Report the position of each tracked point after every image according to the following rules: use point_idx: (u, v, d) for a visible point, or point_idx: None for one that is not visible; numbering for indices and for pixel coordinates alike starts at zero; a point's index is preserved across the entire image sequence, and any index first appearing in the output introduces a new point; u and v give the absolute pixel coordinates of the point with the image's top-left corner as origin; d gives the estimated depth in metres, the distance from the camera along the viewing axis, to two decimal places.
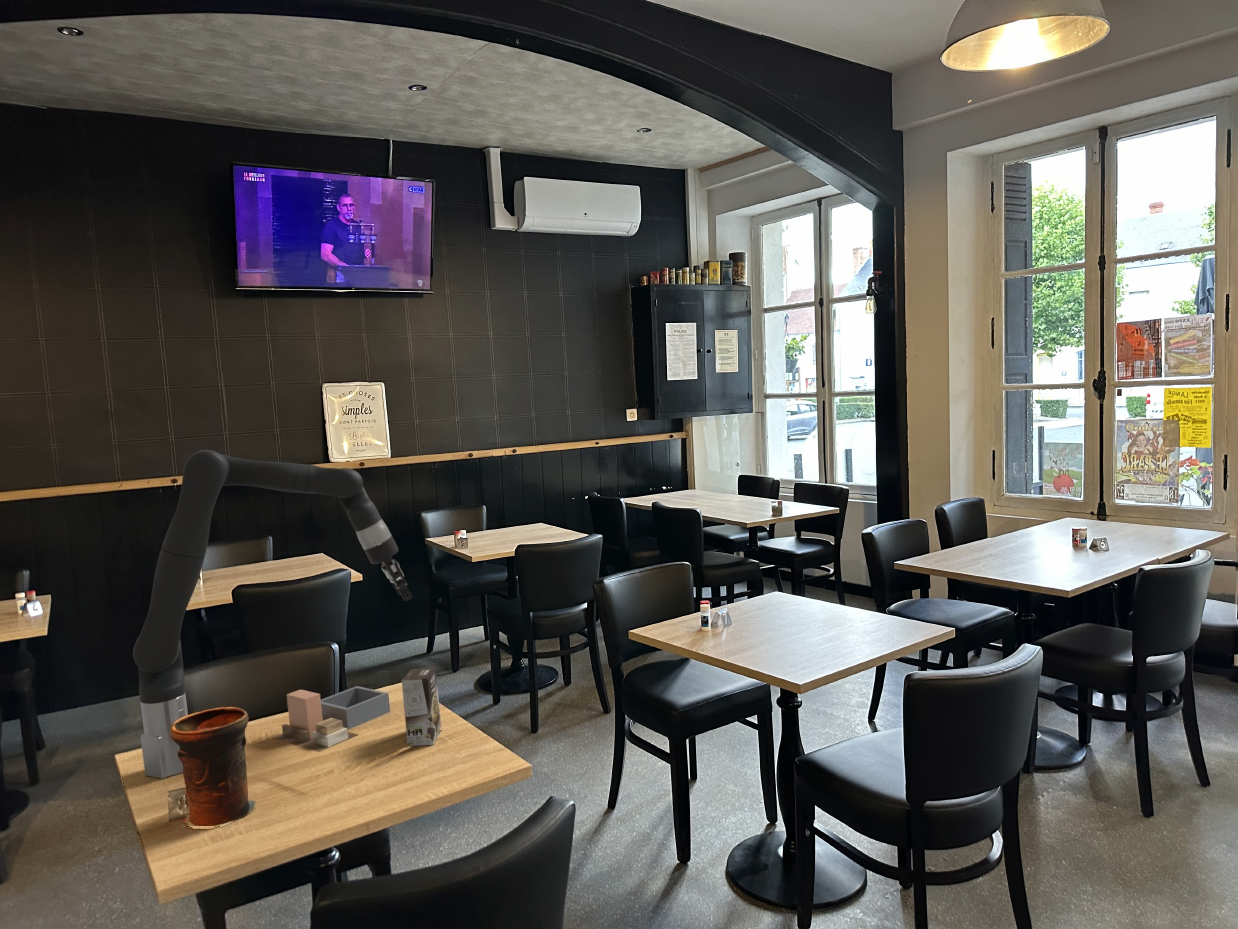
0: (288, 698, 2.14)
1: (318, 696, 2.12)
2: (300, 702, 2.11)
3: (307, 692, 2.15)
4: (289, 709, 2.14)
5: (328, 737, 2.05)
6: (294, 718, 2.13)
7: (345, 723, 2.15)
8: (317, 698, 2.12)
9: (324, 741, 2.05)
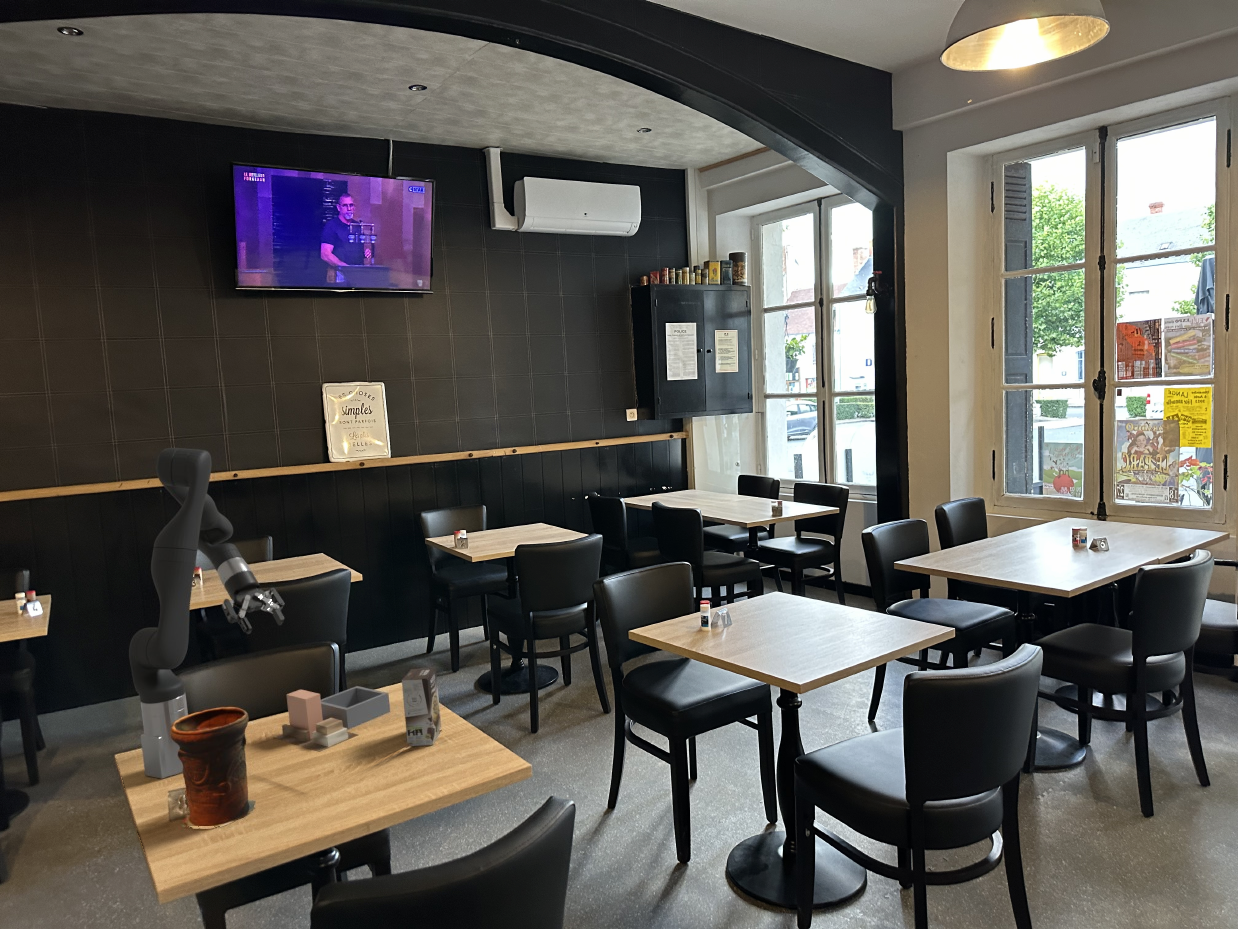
0: (288, 698, 2.14)
1: (318, 696, 2.12)
2: (300, 702, 2.11)
3: (307, 692, 2.15)
4: (289, 709, 2.14)
5: (328, 737, 2.05)
6: (294, 718, 2.13)
7: (345, 723, 2.15)
8: (317, 698, 2.12)
9: (324, 741, 2.05)
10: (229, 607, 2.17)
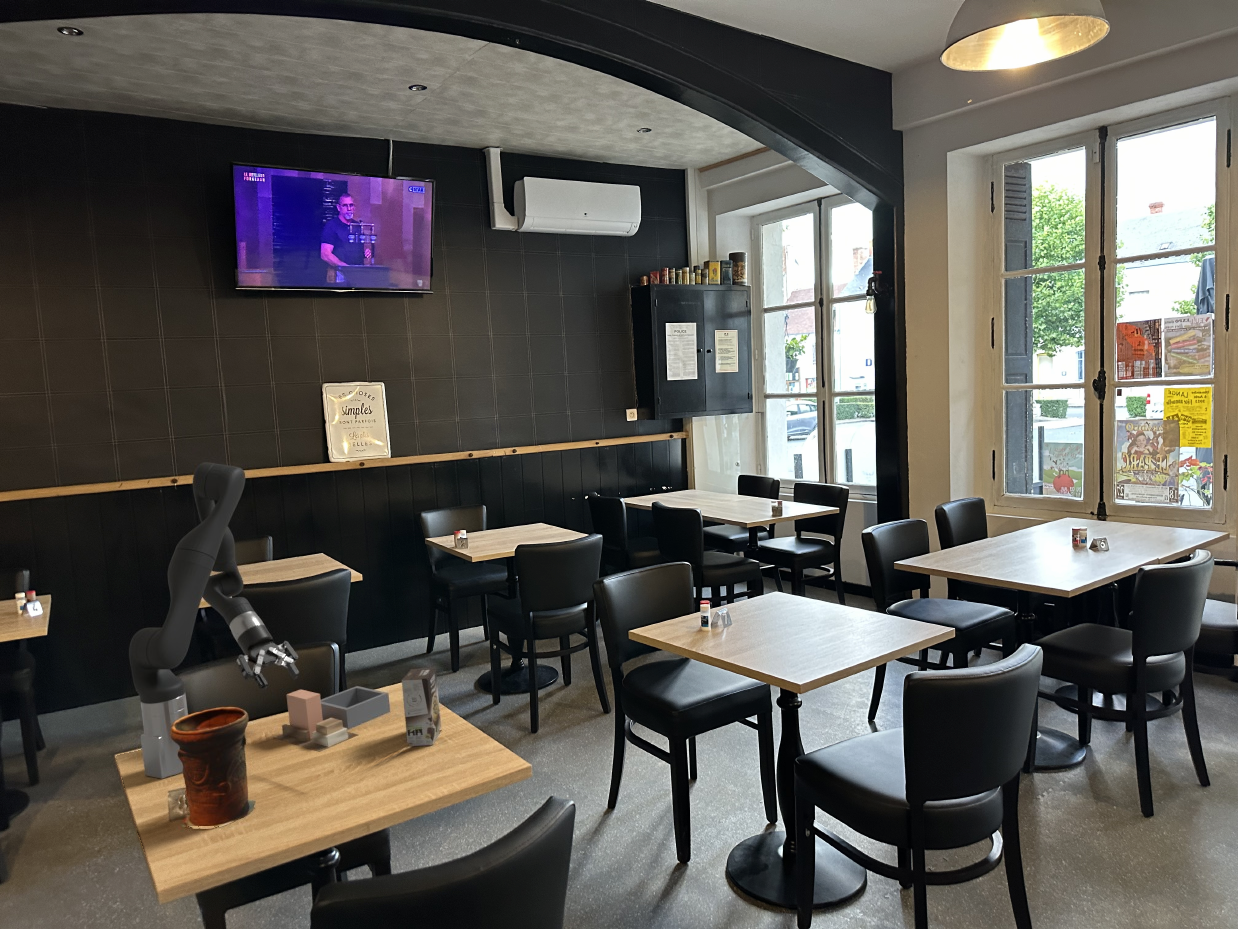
0: (288, 698, 2.14)
1: (318, 696, 2.12)
2: (300, 702, 2.11)
3: (307, 692, 2.15)
4: (289, 709, 2.14)
5: (328, 737, 2.05)
6: (294, 718, 2.13)
7: (345, 723, 2.15)
8: (317, 698, 2.12)
9: (324, 741, 2.05)
10: (244, 663, 2.16)
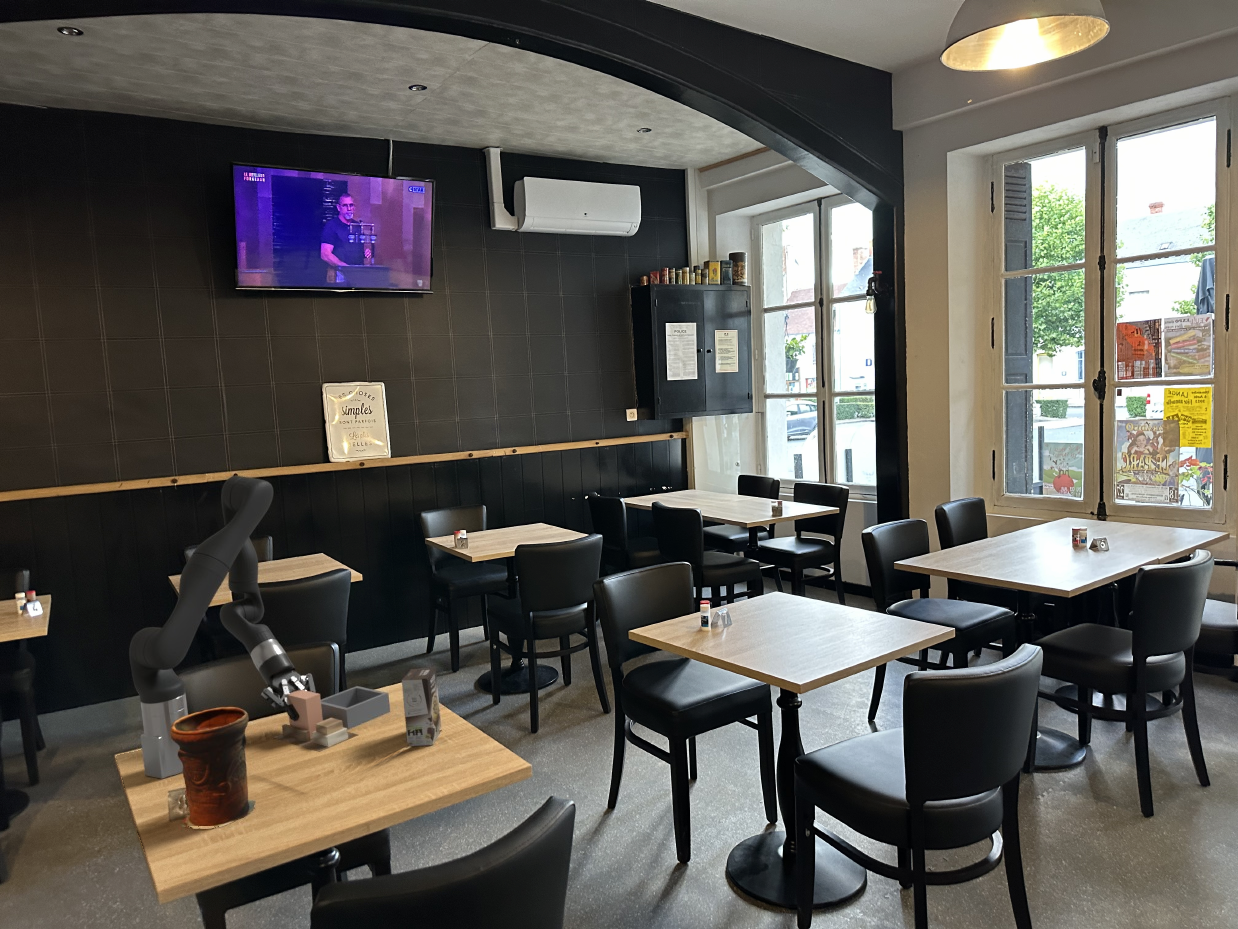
0: None
1: (318, 696, 2.12)
2: (300, 702, 2.11)
3: (307, 692, 2.15)
4: None
5: (328, 737, 2.05)
6: None
7: (345, 723, 2.15)
8: (317, 698, 2.12)
9: (324, 741, 2.05)
10: (272, 696, 2.12)
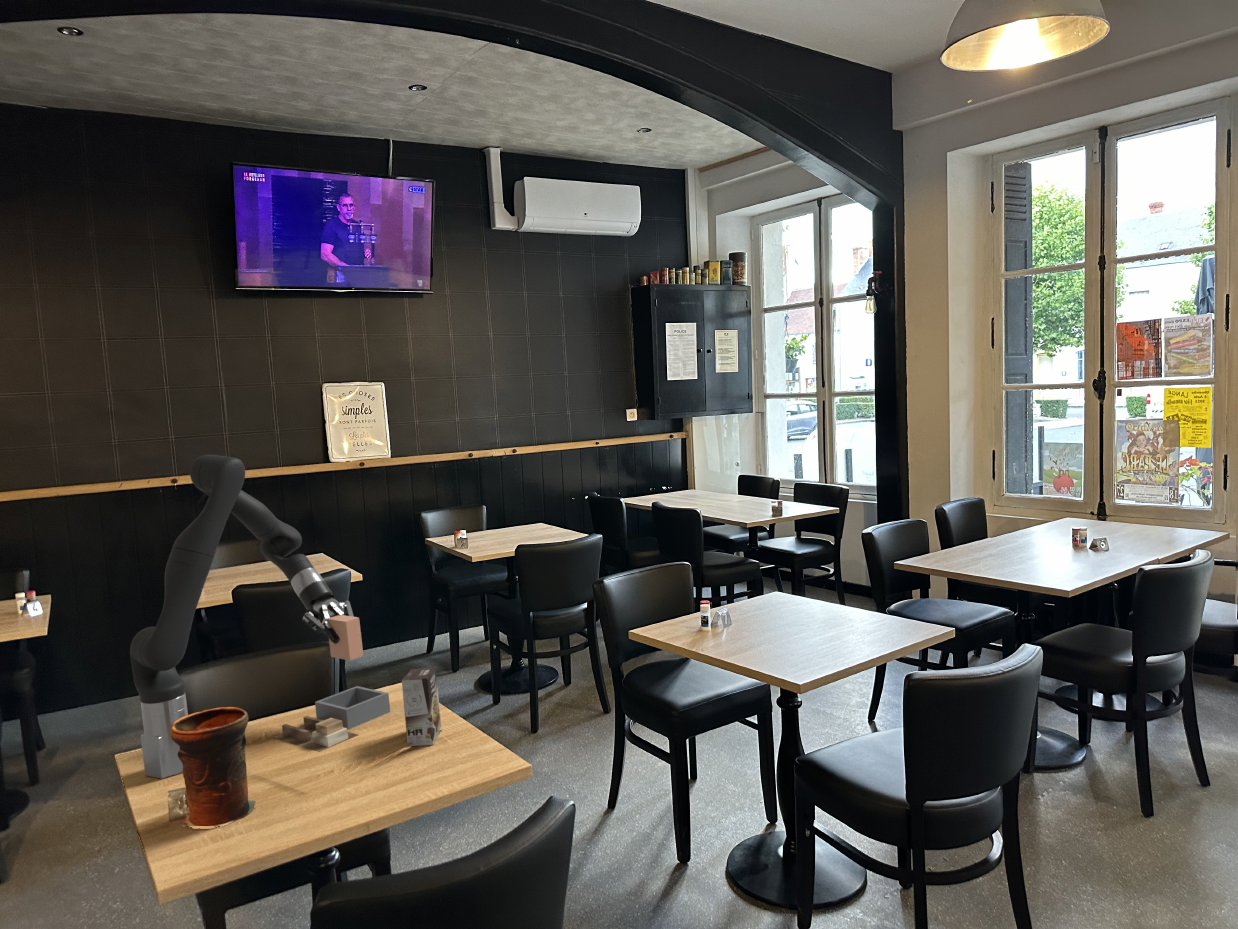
0: None
1: (357, 619, 2.21)
2: (341, 624, 2.19)
3: (346, 616, 2.23)
4: None
5: (328, 737, 2.05)
6: None
7: (345, 723, 2.15)
8: (356, 621, 2.21)
9: (324, 741, 2.05)
10: (313, 619, 2.20)
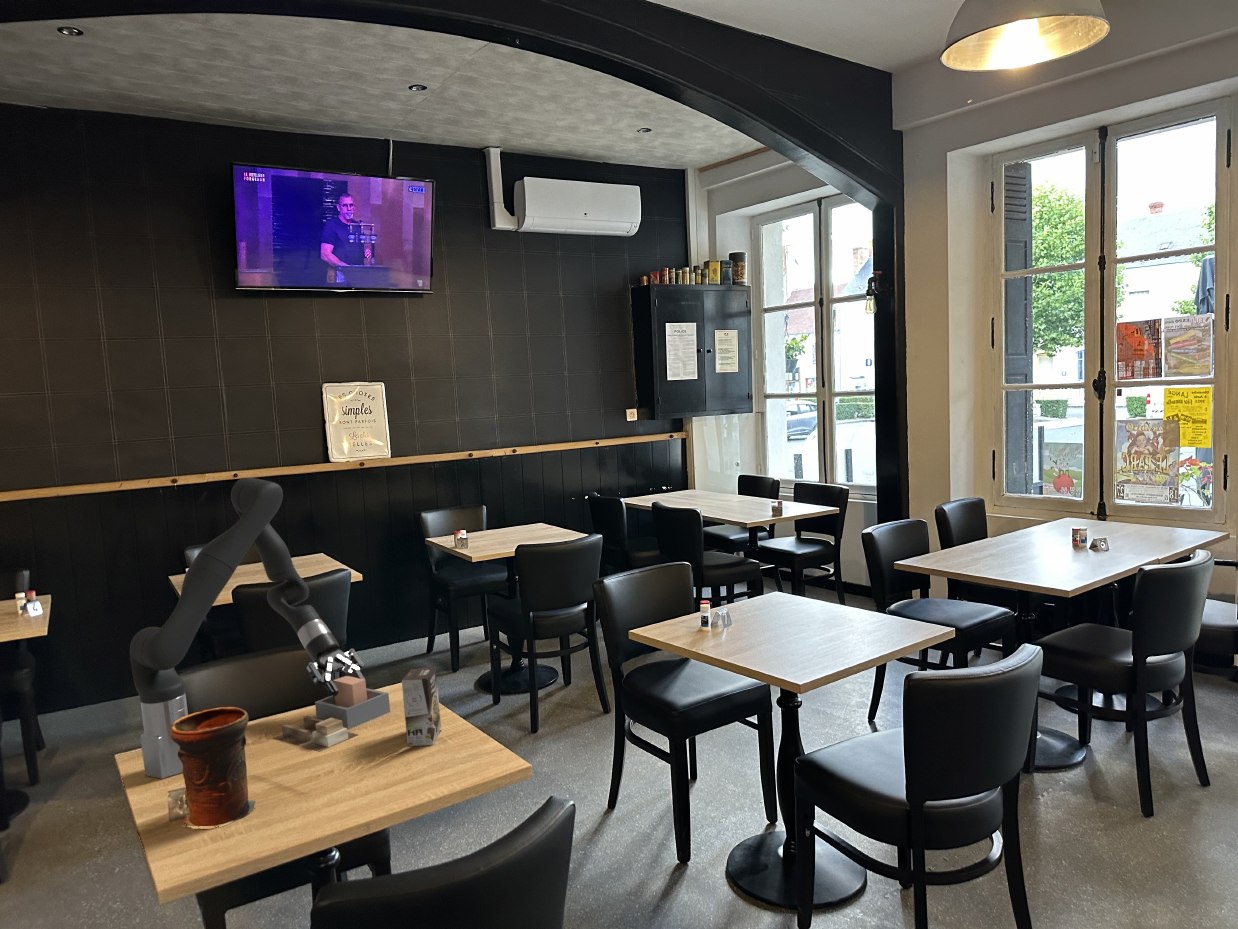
0: (335, 684, 2.24)
1: (363, 682, 2.22)
2: (347, 687, 2.21)
3: (353, 678, 2.24)
4: None
5: (328, 737, 2.05)
6: (341, 702, 2.23)
7: (345, 723, 2.15)
8: (362, 684, 2.22)
9: (324, 741, 2.05)
10: (315, 670, 2.21)
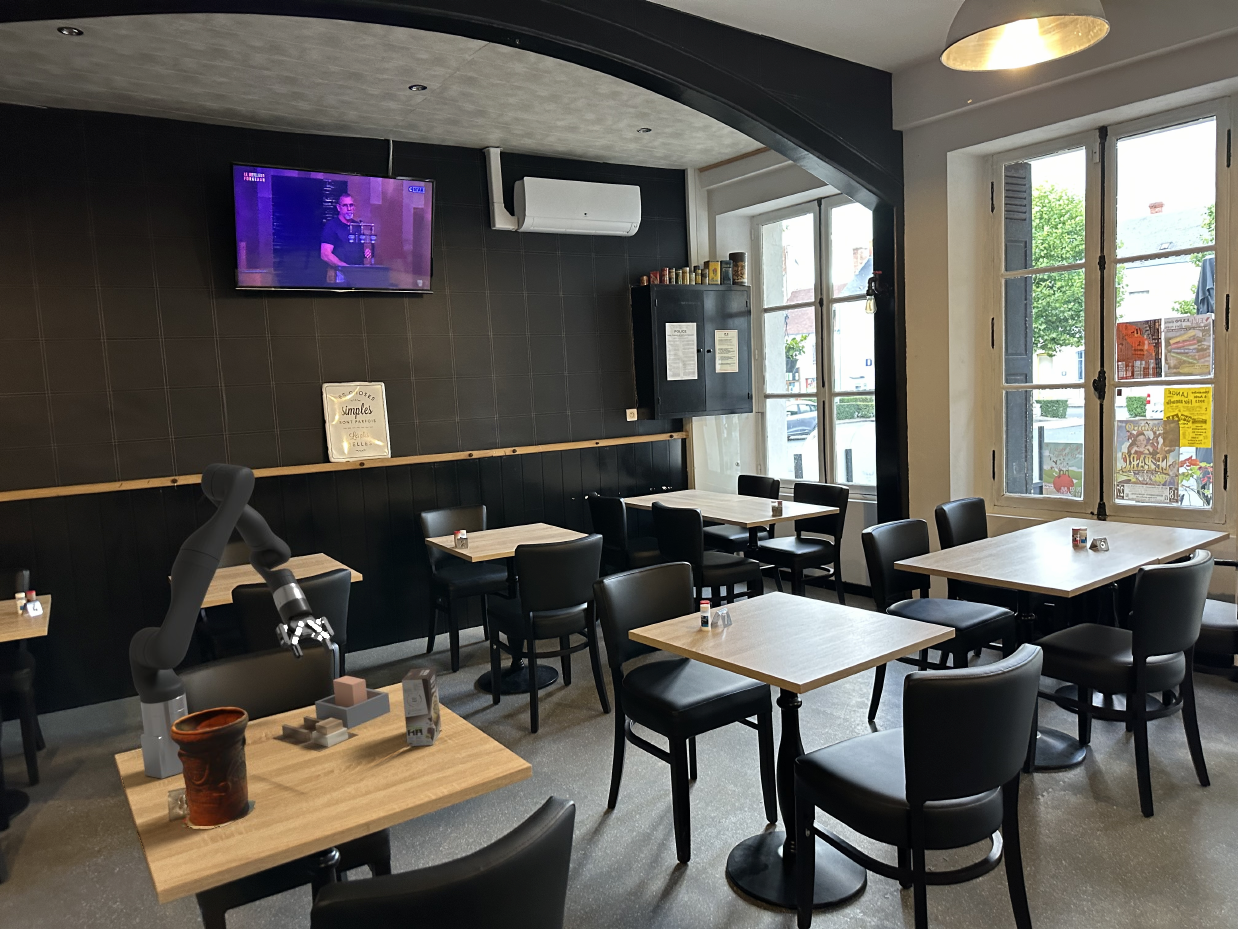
0: (335, 684, 2.24)
1: (363, 682, 2.22)
2: (347, 687, 2.21)
3: (353, 678, 2.24)
4: (336, 694, 2.24)
5: (328, 737, 2.05)
6: (341, 702, 2.23)
7: (345, 723, 2.15)
8: (362, 684, 2.22)
9: (324, 741, 2.05)
10: (283, 632, 2.24)
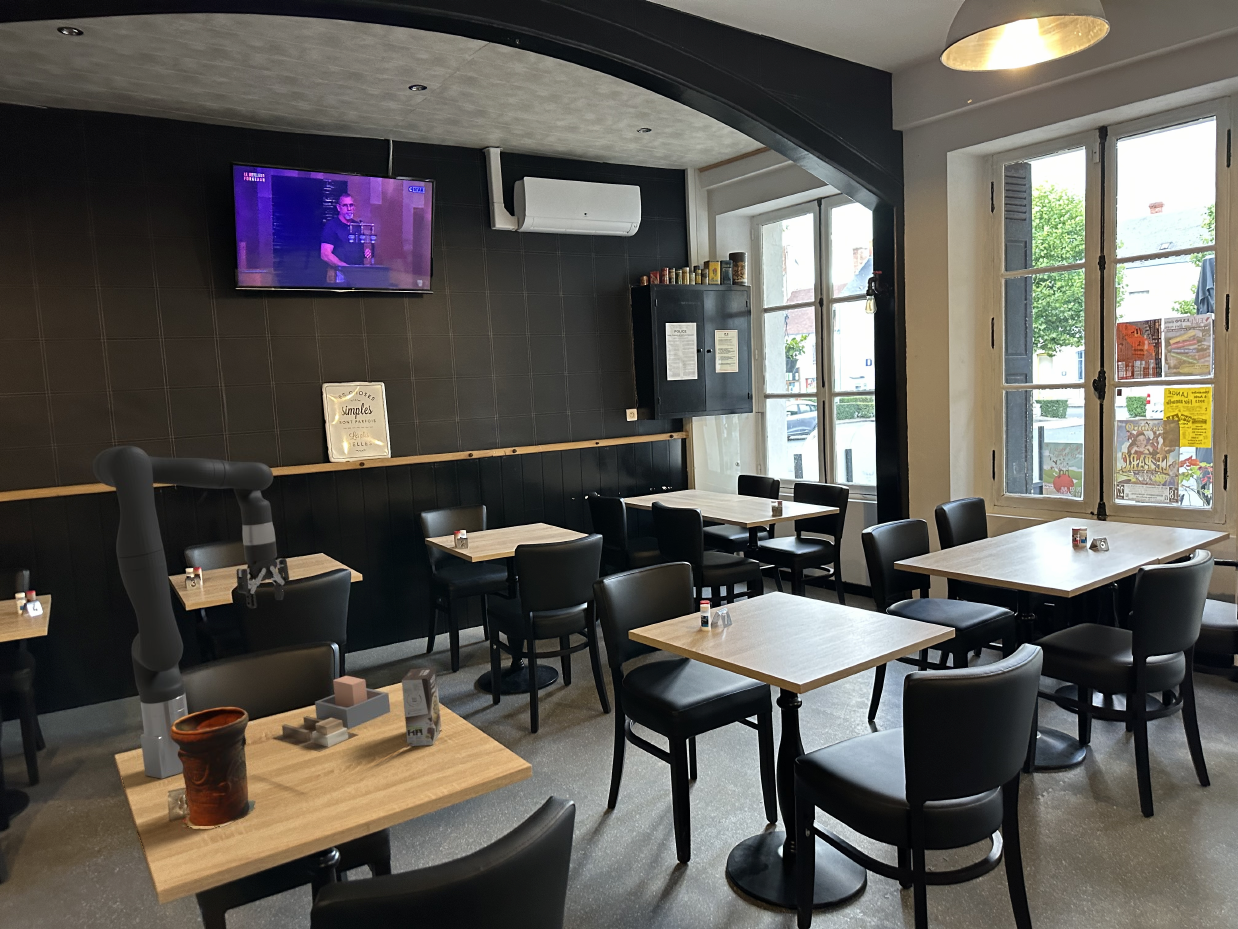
0: (335, 684, 2.24)
1: (363, 682, 2.22)
2: (347, 687, 2.21)
3: (353, 678, 2.24)
4: (336, 694, 2.24)
5: (328, 737, 2.05)
6: (341, 702, 2.23)
7: (345, 723, 2.15)
8: (362, 684, 2.22)
9: (324, 741, 2.05)
10: (245, 580, 2.15)
